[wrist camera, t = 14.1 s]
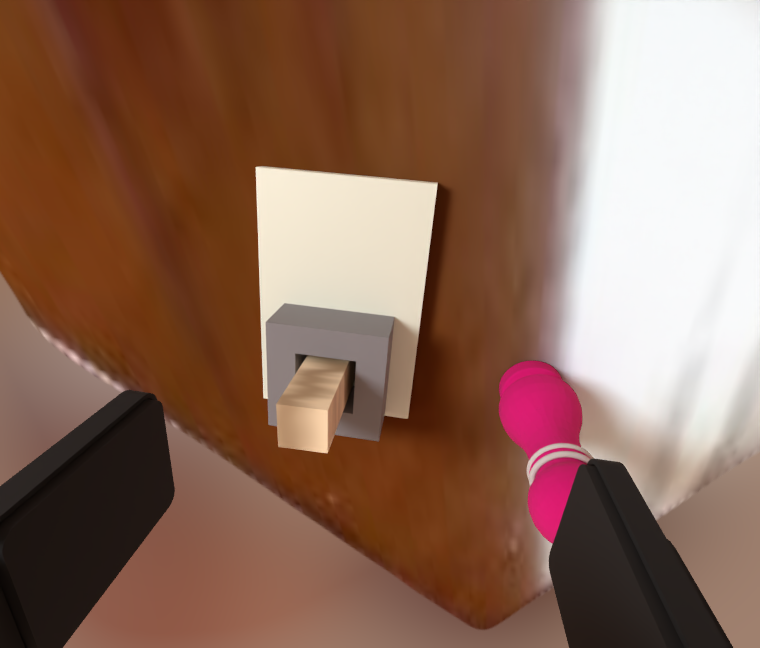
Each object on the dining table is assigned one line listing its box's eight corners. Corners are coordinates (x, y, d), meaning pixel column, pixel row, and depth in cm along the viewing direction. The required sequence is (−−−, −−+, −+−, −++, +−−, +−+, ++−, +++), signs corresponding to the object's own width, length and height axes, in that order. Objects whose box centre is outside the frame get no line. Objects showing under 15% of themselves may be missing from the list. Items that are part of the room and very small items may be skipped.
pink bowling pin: (518, 343, 42) (577, 494, 24) (582, 375, 43) (688, 547, 24) (480, 397, 45) (508, 569, 27) (540, 426, 46) (607, 615, 27)
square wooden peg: (356, 342, 43) (327, 410, 32) (355, 377, 44) (327, 453, 33) (318, 338, 43) (276, 404, 32) (318, 373, 45) (278, 446, 34)
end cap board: (437, 182, 37) (437, 189, 32) (409, 411, 47) (404, 449, 41) (262, 166, 39) (230, 169, 33) (268, 390, 48) (244, 425, 42)
